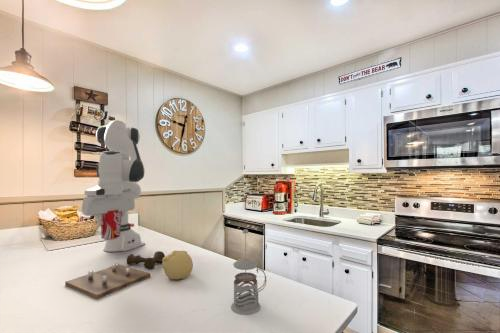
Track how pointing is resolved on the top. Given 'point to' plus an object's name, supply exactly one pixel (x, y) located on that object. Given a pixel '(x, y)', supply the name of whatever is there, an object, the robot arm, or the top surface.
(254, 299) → the french press
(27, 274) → the top surface
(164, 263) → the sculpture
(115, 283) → the peg board
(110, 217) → the soda can
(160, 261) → the kendama
